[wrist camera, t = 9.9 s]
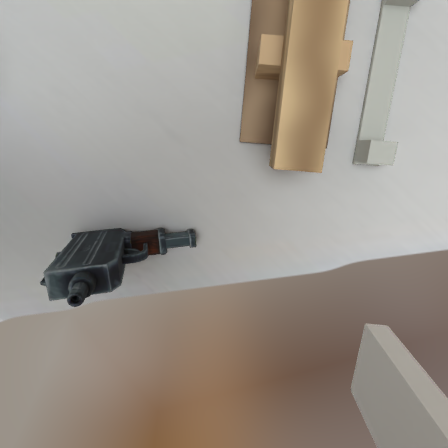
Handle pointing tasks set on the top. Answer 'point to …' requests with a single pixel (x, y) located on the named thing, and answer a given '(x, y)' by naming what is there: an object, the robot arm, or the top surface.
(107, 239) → the gun
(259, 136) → the fulcrum
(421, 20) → the top surface
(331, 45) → the bar
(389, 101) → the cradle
